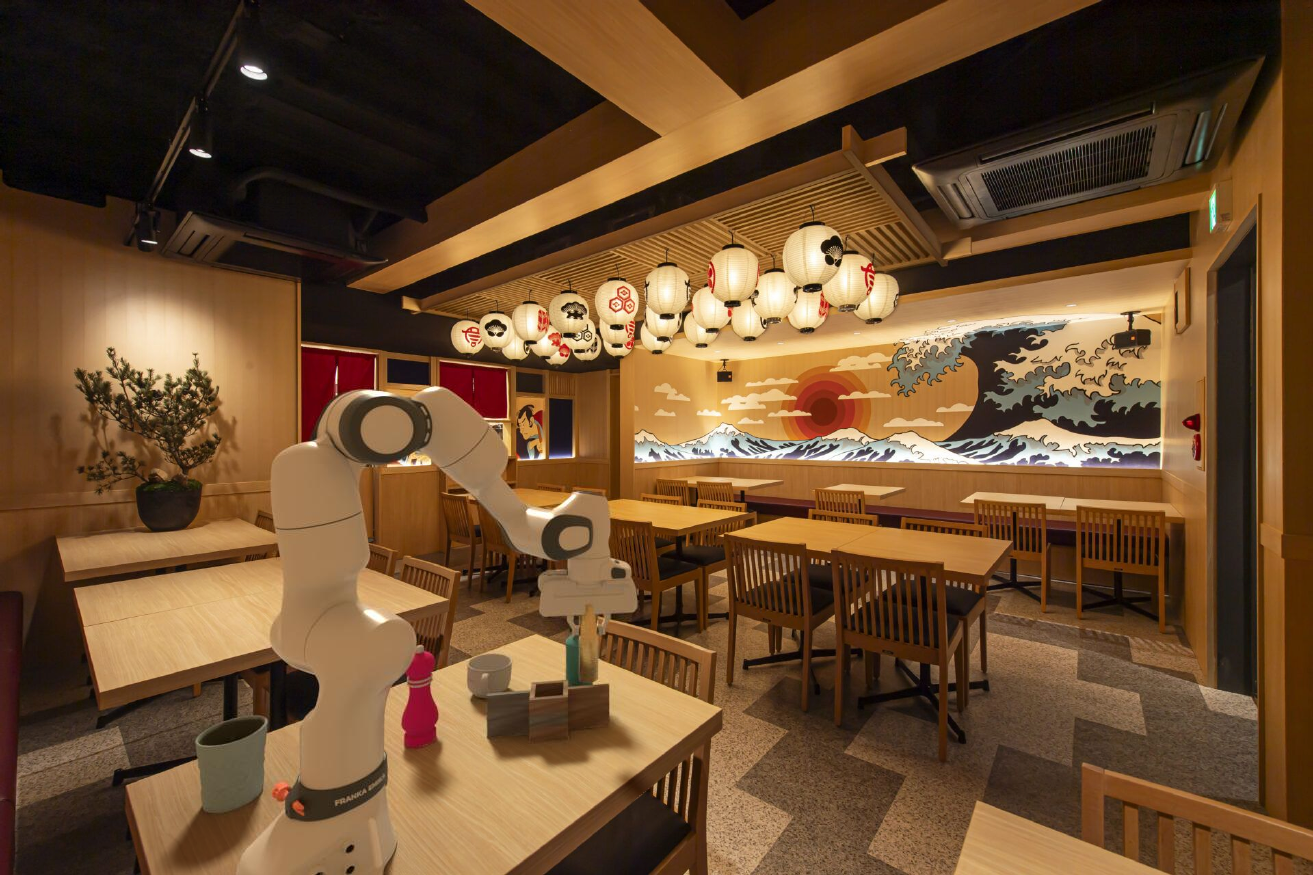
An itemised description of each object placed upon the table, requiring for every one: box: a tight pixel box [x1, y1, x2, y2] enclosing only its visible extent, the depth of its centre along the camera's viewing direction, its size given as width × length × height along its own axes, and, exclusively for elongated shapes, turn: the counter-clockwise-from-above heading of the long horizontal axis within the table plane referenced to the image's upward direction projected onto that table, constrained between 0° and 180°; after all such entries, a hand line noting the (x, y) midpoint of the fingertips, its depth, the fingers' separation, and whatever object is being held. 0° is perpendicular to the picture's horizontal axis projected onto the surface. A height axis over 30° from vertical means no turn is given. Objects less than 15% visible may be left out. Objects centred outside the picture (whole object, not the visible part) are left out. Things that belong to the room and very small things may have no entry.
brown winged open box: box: [486, 679, 611, 744], centre depth 115 cm, size 8×26×9 cm, turn 99°
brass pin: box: [578, 604, 599, 683], centre depth 110 cm, size 4×4×16 cm
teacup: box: [466, 652, 513, 699], centre depth 130 cm, size 14×11×8 cm
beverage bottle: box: [564, 619, 594, 687], centre depth 125 cm, size 6×7×20 cm
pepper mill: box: [400, 644, 440, 749], centre depth 112 cm, size 7×7×20 cm
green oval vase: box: [195, 715, 268, 814], centre depth 94 cm, size 10×10×12 cm
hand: (588, 634), depth 110 cm, fingers closed on brass pin, 4 cm apart
